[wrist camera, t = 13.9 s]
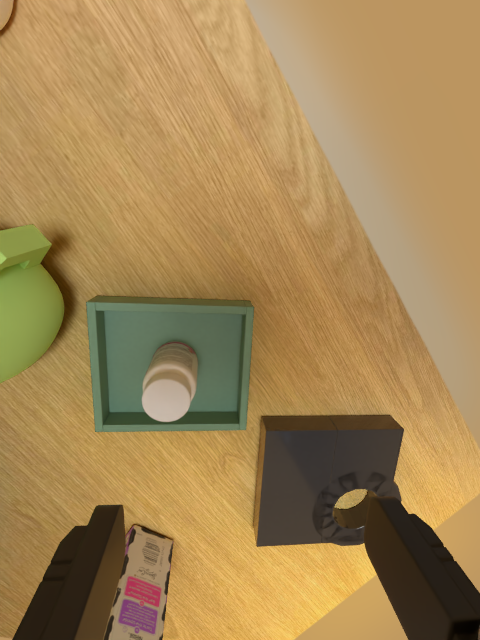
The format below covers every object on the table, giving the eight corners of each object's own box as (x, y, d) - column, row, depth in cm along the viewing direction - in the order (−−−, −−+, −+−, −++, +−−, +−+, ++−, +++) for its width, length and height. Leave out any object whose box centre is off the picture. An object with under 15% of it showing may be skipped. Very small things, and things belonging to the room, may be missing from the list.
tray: (250, 300, 34) (254, 306, 32) (243, 414, 38) (246, 430, 35) (96, 295, 33) (85, 301, 30) (104, 415, 36) (94, 432, 33)
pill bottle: (145, 350, 34) (126, 387, 26) (187, 333, 34) (181, 365, 26) (164, 388, 35) (151, 434, 27) (204, 372, 35) (204, 414, 27)
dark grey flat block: (402, 415, 40) (417, 429, 37) (380, 523, 44) (392, 543, 42) (261, 416, 38) (266, 431, 35) (252, 529, 43) (256, 550, 40)
